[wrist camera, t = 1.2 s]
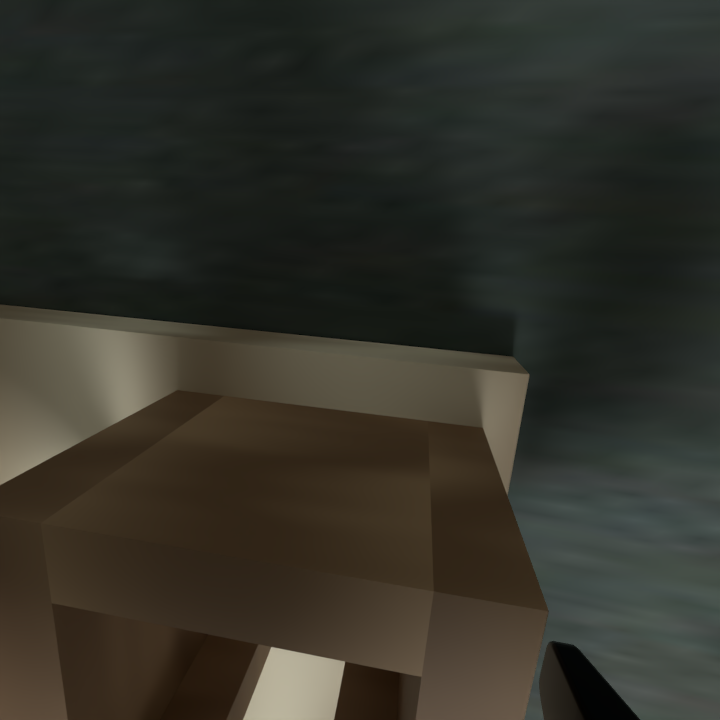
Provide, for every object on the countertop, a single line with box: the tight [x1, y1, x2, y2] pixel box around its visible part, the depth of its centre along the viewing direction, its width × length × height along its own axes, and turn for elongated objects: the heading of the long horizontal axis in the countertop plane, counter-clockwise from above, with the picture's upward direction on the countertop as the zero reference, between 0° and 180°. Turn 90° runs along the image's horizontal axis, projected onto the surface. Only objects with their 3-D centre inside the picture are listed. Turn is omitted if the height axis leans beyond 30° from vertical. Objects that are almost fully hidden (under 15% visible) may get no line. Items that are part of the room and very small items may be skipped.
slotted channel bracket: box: [0, 390, 549, 720], centre depth 7 cm, size 7×7×4 cm
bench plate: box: [0, 305, 529, 720], centre depth 10 cm, size 15×19×5 cm
